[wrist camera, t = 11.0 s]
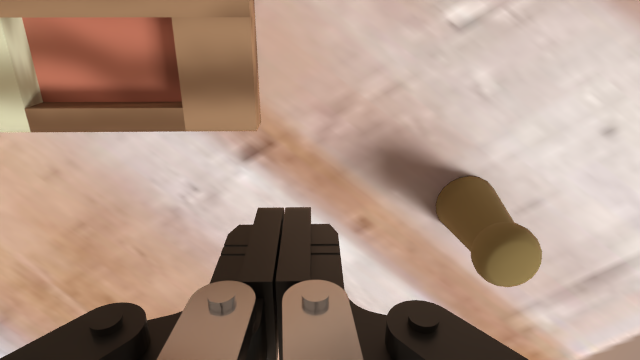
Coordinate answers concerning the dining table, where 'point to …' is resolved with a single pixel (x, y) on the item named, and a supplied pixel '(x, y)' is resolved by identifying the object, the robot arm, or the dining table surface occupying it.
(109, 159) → the dining table surface
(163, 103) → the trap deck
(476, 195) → the cork
